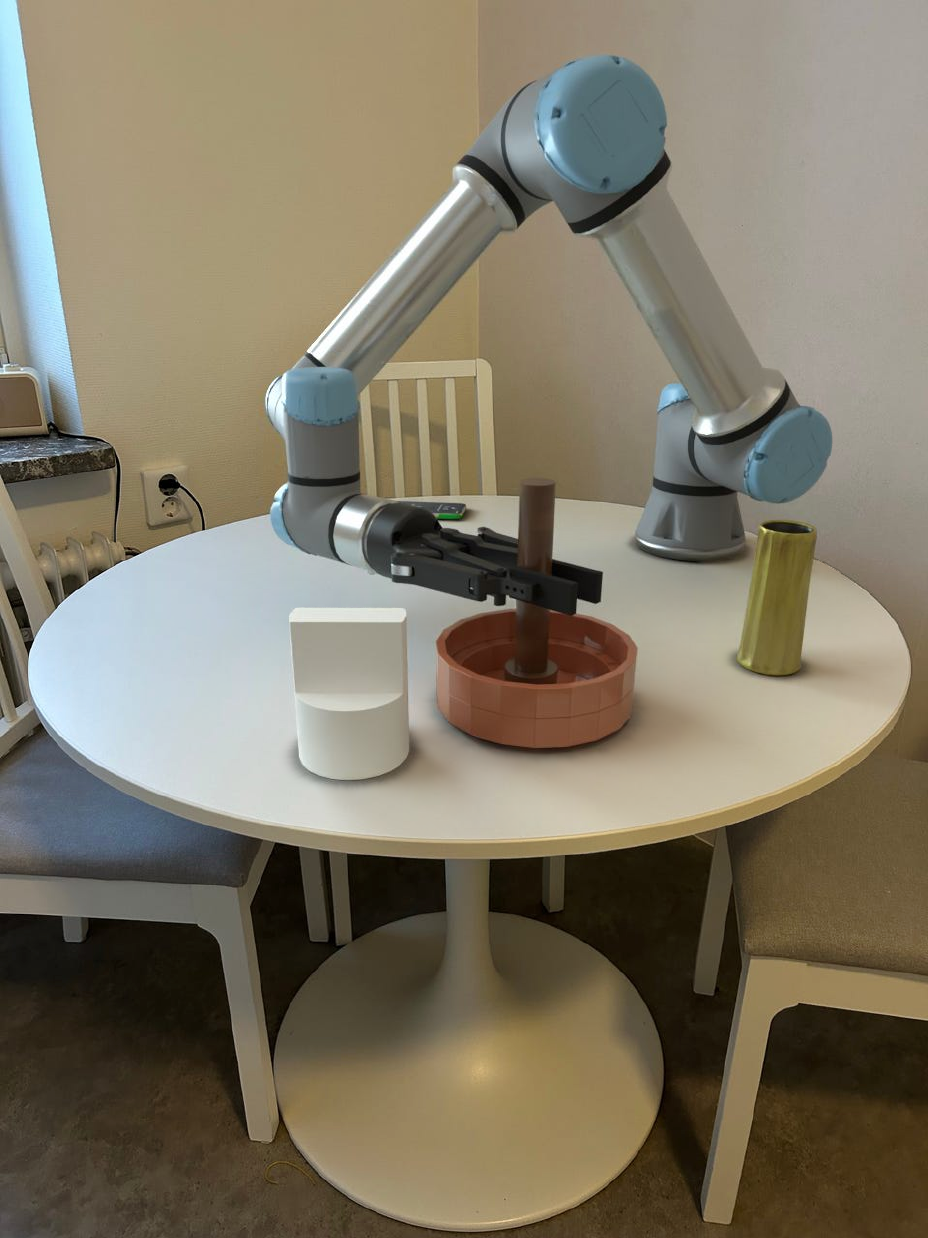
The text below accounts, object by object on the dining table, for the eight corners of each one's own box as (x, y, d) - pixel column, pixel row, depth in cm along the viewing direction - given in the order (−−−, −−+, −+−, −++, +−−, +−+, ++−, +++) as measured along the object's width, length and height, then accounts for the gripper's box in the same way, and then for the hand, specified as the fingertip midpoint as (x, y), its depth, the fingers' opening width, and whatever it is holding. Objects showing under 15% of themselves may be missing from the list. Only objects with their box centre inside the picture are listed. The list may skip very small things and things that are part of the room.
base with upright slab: (289, 780, 68) (278, 637, 63) (308, 724, 76) (299, 594, 72) (406, 780, 68) (402, 637, 63) (412, 724, 76) (409, 594, 72)
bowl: (605, 661, 88) (609, 606, 86) (655, 749, 72) (662, 684, 70) (432, 666, 87) (431, 610, 85) (443, 758, 71) (442, 692, 68)
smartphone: (378, 499, 146) (467, 502, 144) (378, 505, 146) (467, 508, 144) (367, 510, 139) (461, 514, 137) (367, 516, 139) (461, 520, 137)
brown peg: (551, 670, 82) (560, 474, 75) (561, 693, 78) (571, 487, 71) (501, 671, 82) (505, 475, 75) (507, 694, 77) (512, 488, 71)
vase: (800, 680, 84) (822, 538, 79) (734, 671, 86) (752, 531, 81) (800, 656, 90) (822, 521, 84) (738, 647, 92) (755, 515, 86)
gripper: (444, 556, 94) (634, 609, 80) (330, 594, 83) (526, 664, 69) (444, 488, 91) (641, 530, 77) (326, 518, 80) (530, 573, 66)
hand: (586, 593), depth 73 cm, fingers closed on brown peg, 3 cm apart
